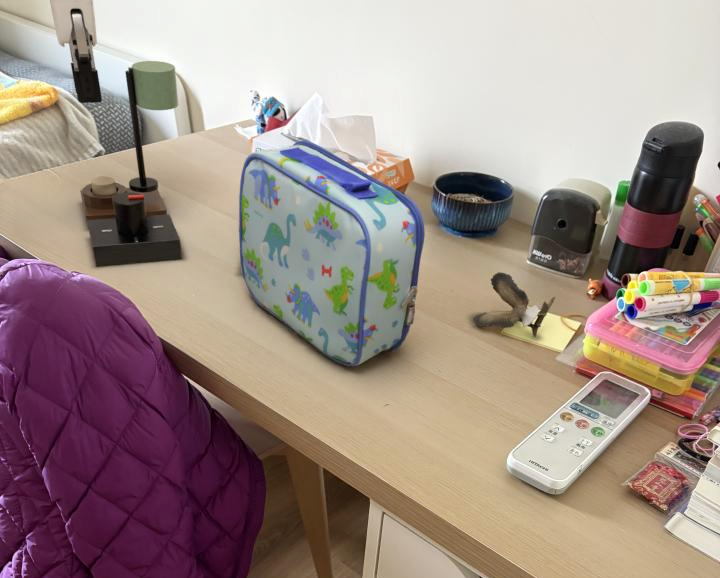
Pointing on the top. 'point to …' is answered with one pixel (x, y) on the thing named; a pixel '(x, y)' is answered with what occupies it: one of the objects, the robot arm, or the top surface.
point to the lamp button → (103, 185)
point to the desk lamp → (149, 106)
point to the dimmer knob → (130, 213)
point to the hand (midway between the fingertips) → (88, 96)
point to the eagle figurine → (516, 301)
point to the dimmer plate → (134, 242)
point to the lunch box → (329, 250)
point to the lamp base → (103, 204)
